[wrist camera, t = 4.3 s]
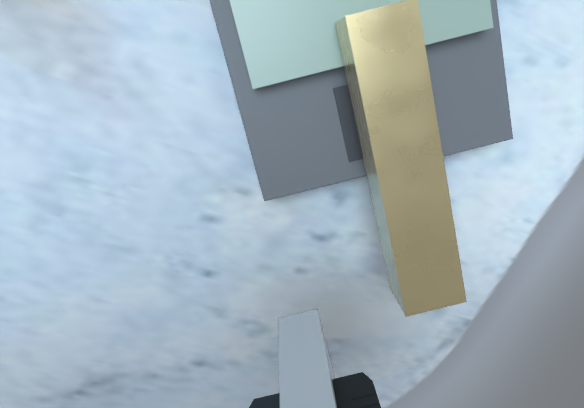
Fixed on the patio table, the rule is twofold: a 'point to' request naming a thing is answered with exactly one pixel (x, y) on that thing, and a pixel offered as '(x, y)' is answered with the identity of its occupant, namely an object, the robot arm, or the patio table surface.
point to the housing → (340, 116)
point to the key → (402, 154)
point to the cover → (330, 31)
